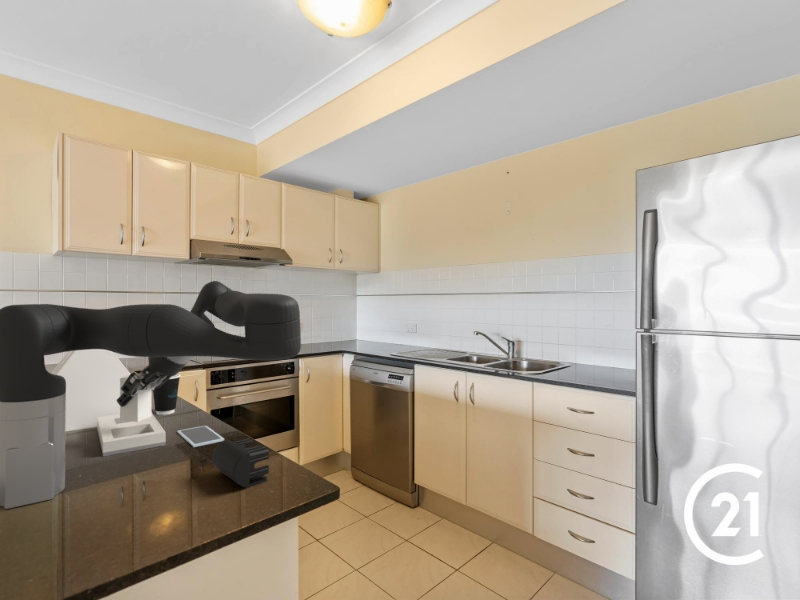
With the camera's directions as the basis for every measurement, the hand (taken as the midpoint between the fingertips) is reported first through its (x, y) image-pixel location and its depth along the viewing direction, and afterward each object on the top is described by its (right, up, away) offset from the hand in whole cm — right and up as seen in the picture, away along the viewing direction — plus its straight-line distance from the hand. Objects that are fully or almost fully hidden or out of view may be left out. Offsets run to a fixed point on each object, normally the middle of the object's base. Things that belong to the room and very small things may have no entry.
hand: (128, 401), depth 100 cm
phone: (+15, -11, +5) cm, 19 cm away
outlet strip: (-3, -10, +4) cm, 11 cm away
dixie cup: (-6, -10, +26) cm, 28 cm away
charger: (+2, -4, 0) cm, 5 cm away
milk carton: (-22, -10, +17) cm, 29 cm away
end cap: (+34, -11, -19) cm, 40 cm away
